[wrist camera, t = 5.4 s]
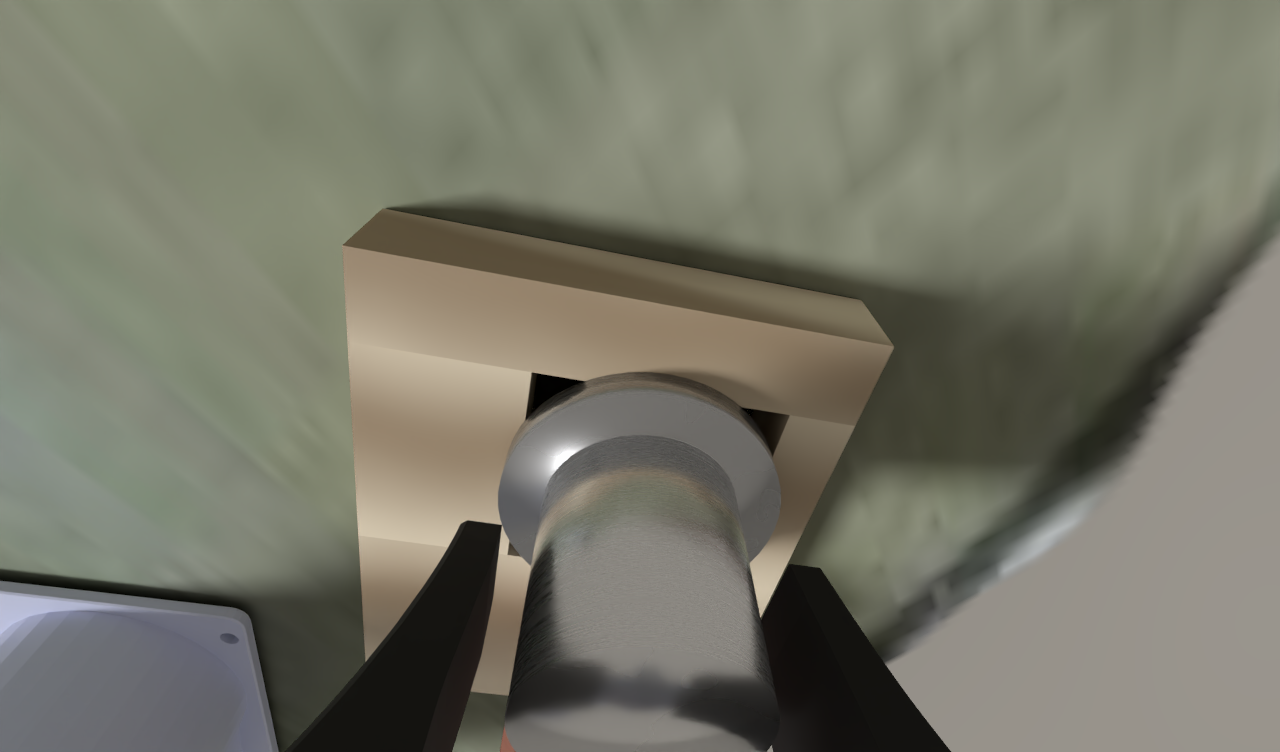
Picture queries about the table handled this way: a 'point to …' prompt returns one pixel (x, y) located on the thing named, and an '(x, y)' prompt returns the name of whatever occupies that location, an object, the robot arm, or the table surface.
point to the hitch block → (570, 348)
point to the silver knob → (640, 570)
